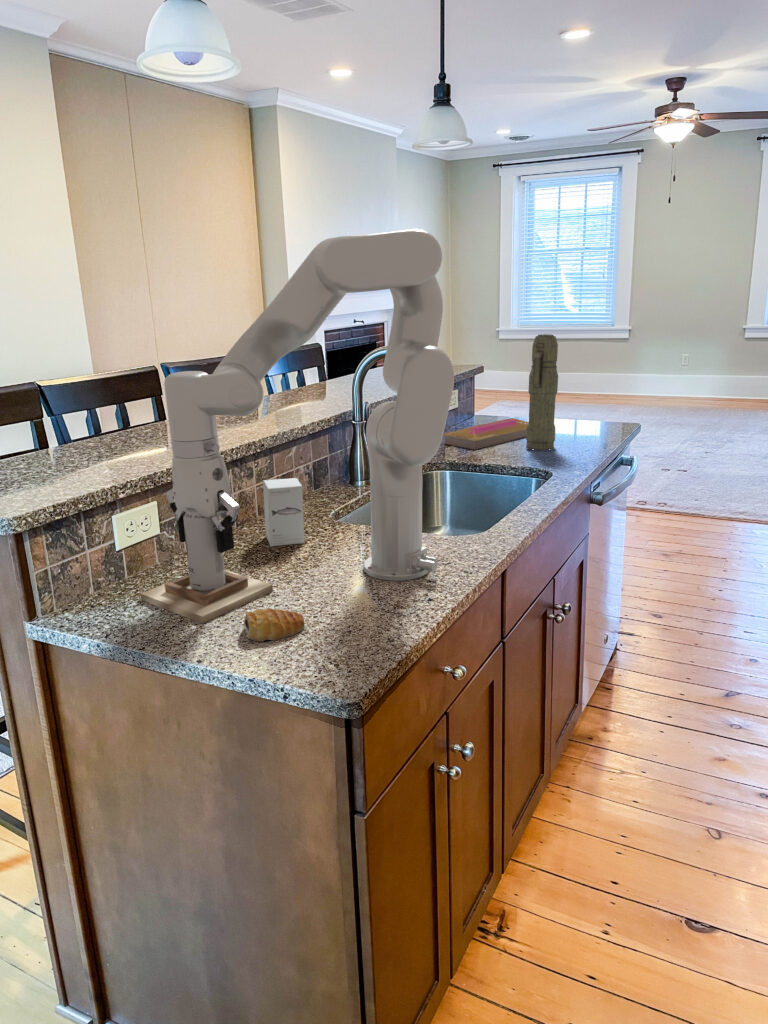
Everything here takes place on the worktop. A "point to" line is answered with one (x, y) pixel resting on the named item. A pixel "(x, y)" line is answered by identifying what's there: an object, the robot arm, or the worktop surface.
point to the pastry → (272, 624)
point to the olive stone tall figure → (542, 393)
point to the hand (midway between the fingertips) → (206, 545)
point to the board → (206, 596)
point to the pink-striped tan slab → (487, 434)
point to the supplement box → (283, 511)
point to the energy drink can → (203, 553)
